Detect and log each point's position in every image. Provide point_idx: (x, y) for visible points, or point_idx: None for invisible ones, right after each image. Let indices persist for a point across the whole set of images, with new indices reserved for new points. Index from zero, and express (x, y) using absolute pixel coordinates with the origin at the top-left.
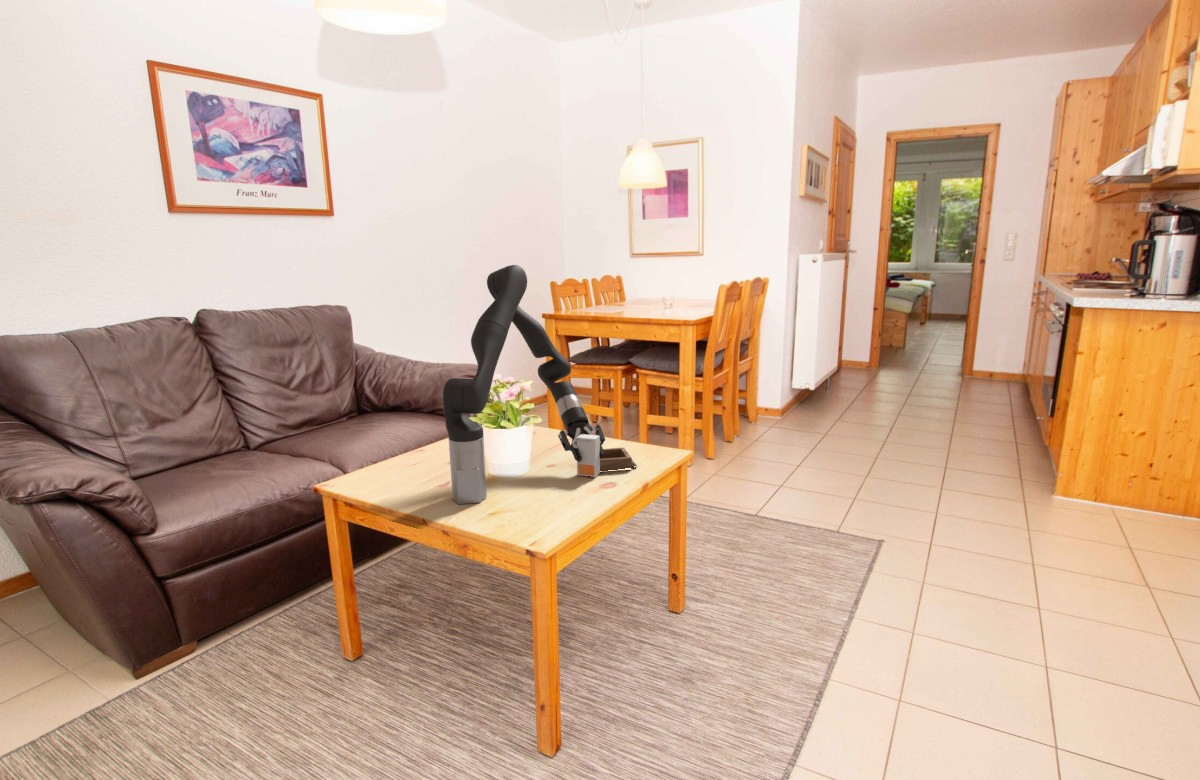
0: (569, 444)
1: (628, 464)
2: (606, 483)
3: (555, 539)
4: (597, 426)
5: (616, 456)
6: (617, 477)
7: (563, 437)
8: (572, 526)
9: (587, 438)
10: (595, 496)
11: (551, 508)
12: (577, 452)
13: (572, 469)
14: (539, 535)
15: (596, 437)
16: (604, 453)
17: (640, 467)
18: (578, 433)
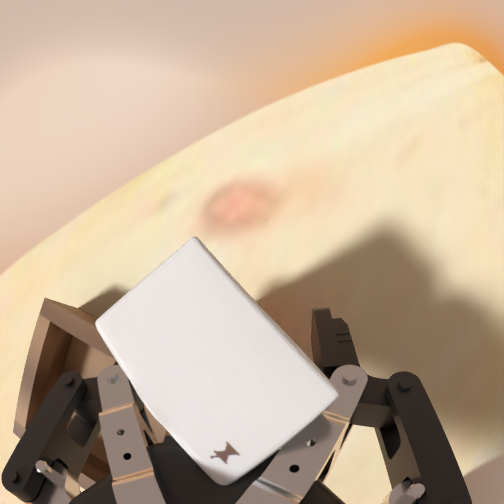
0: (397, 391)
1: (71, 308)
2: (234, 227)
3: (452, 48)
4: (23, 480)
5: None
6: None
7: (448, 450)
8: (424, 58)
9: (248, 300)
10: (330, 142)
11: (464, 139)
12: (336, 338)
13: None
14: (477, 69)
15: (149, 280)
16: (90, 468)
17: None
18: (271, 482)
